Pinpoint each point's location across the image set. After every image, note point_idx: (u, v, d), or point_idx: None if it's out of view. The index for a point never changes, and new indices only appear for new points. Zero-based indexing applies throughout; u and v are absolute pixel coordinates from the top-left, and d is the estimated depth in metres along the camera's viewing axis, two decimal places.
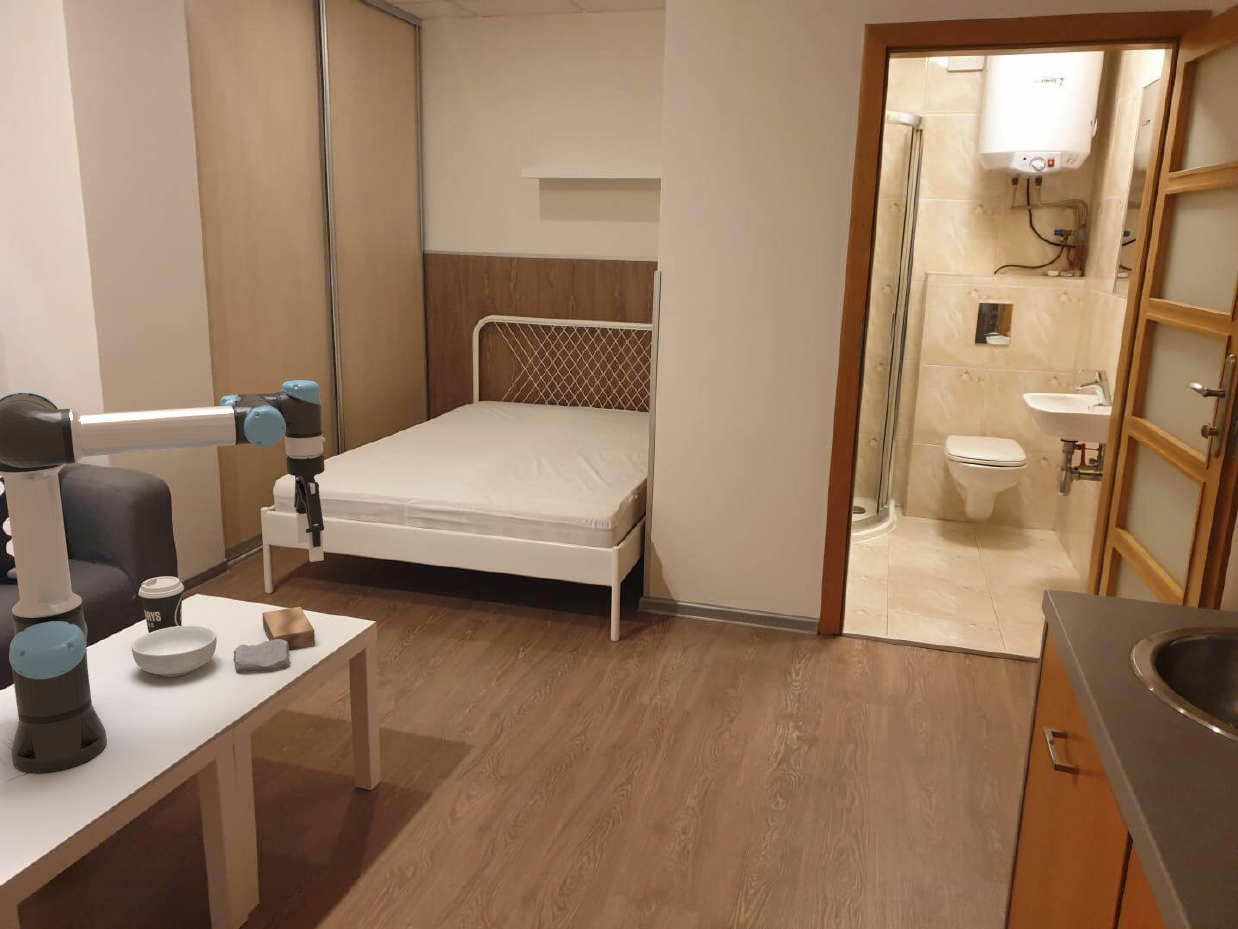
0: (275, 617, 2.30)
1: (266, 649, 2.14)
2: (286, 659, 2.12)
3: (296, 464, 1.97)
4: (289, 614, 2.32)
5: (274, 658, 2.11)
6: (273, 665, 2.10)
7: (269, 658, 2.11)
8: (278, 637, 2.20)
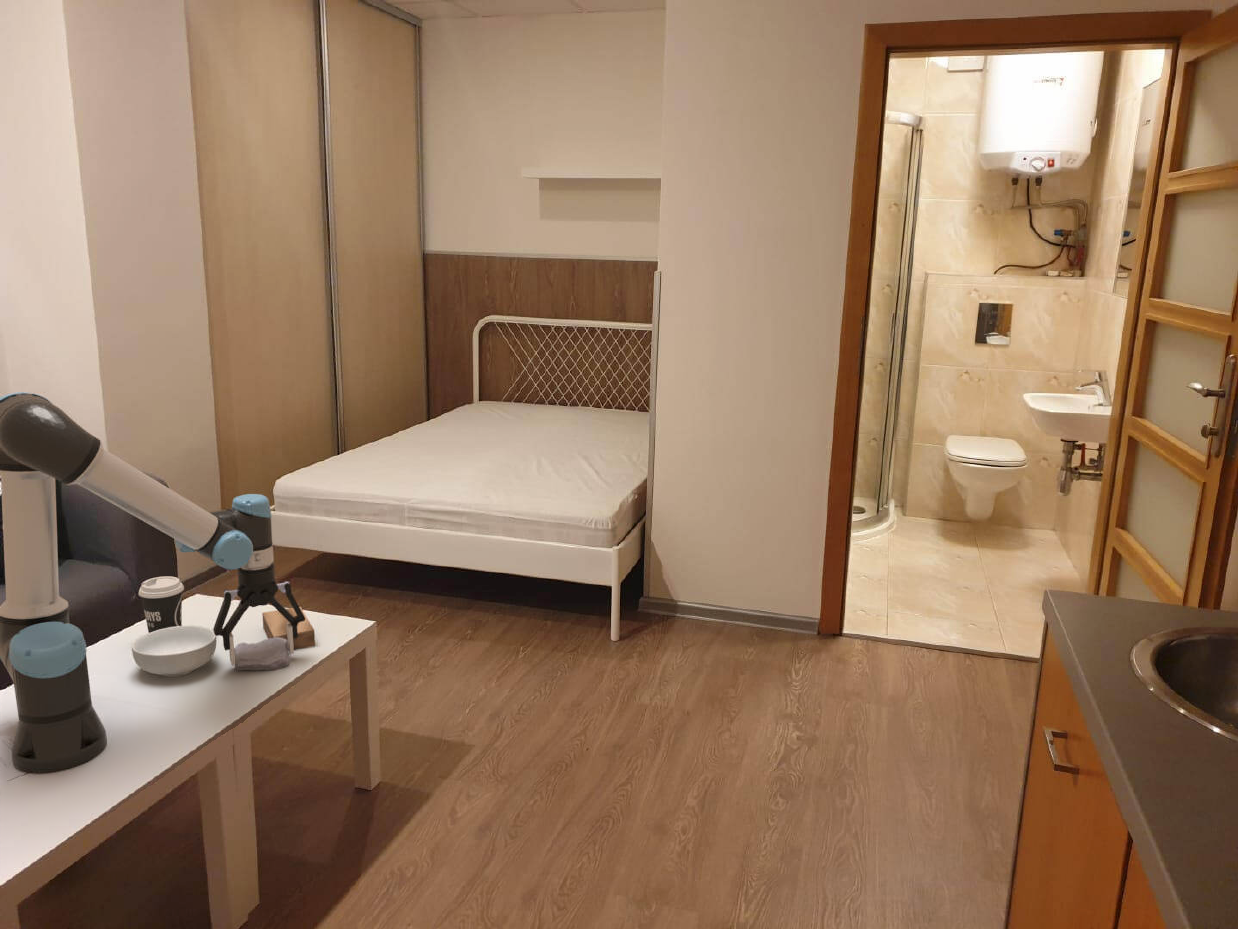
0: (275, 617, 2.30)
1: (266, 648, 2.14)
2: (285, 657, 2.13)
3: None
4: None
5: (273, 656, 2.12)
6: (272, 663, 2.11)
7: (268, 656, 2.12)
8: None
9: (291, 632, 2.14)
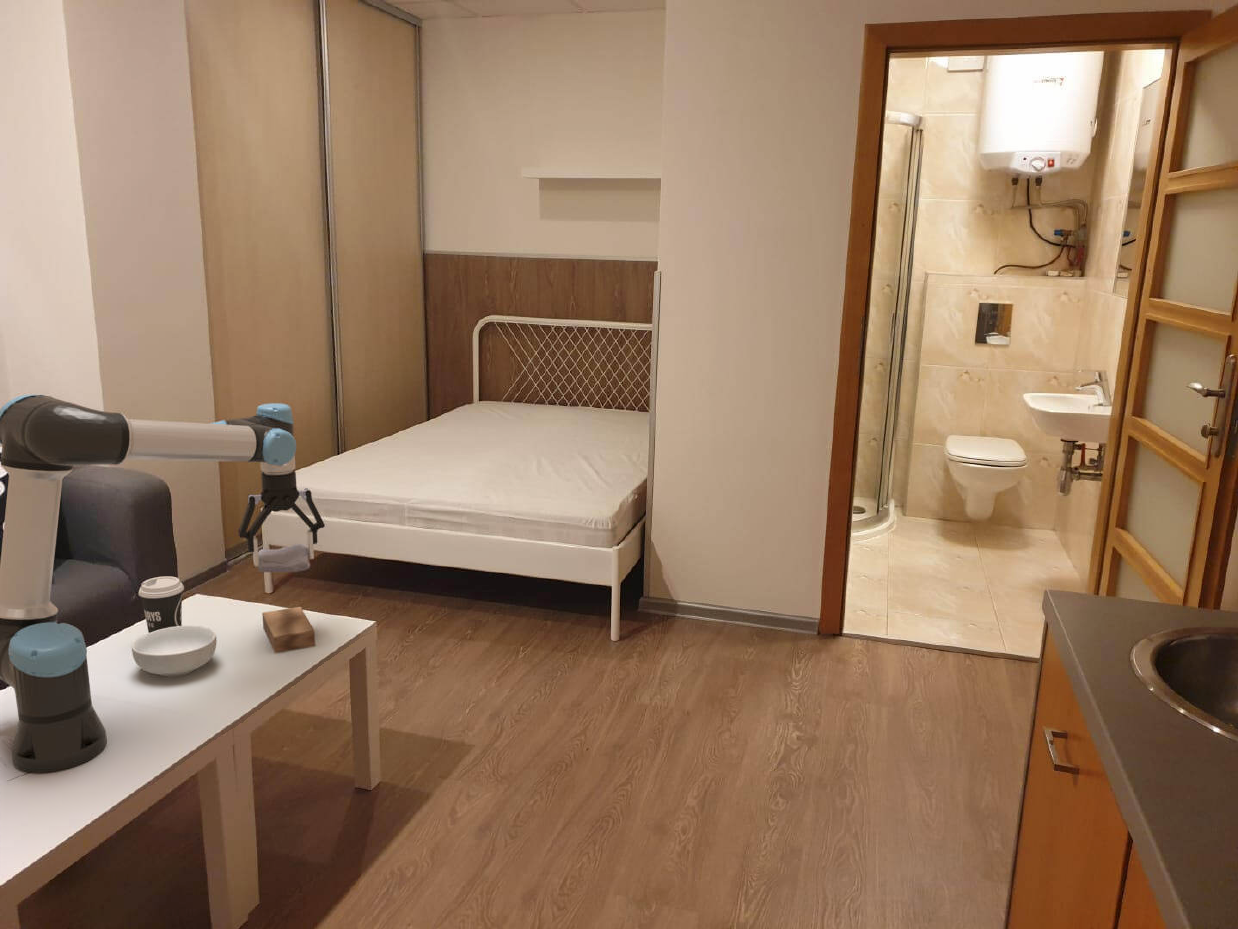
0: (275, 617, 2.30)
1: (287, 552, 2.25)
2: (306, 560, 2.23)
3: None
4: (289, 614, 2.32)
5: (295, 559, 2.22)
6: (294, 565, 2.22)
7: (290, 559, 2.22)
8: (278, 637, 2.20)
9: (311, 537, 2.25)
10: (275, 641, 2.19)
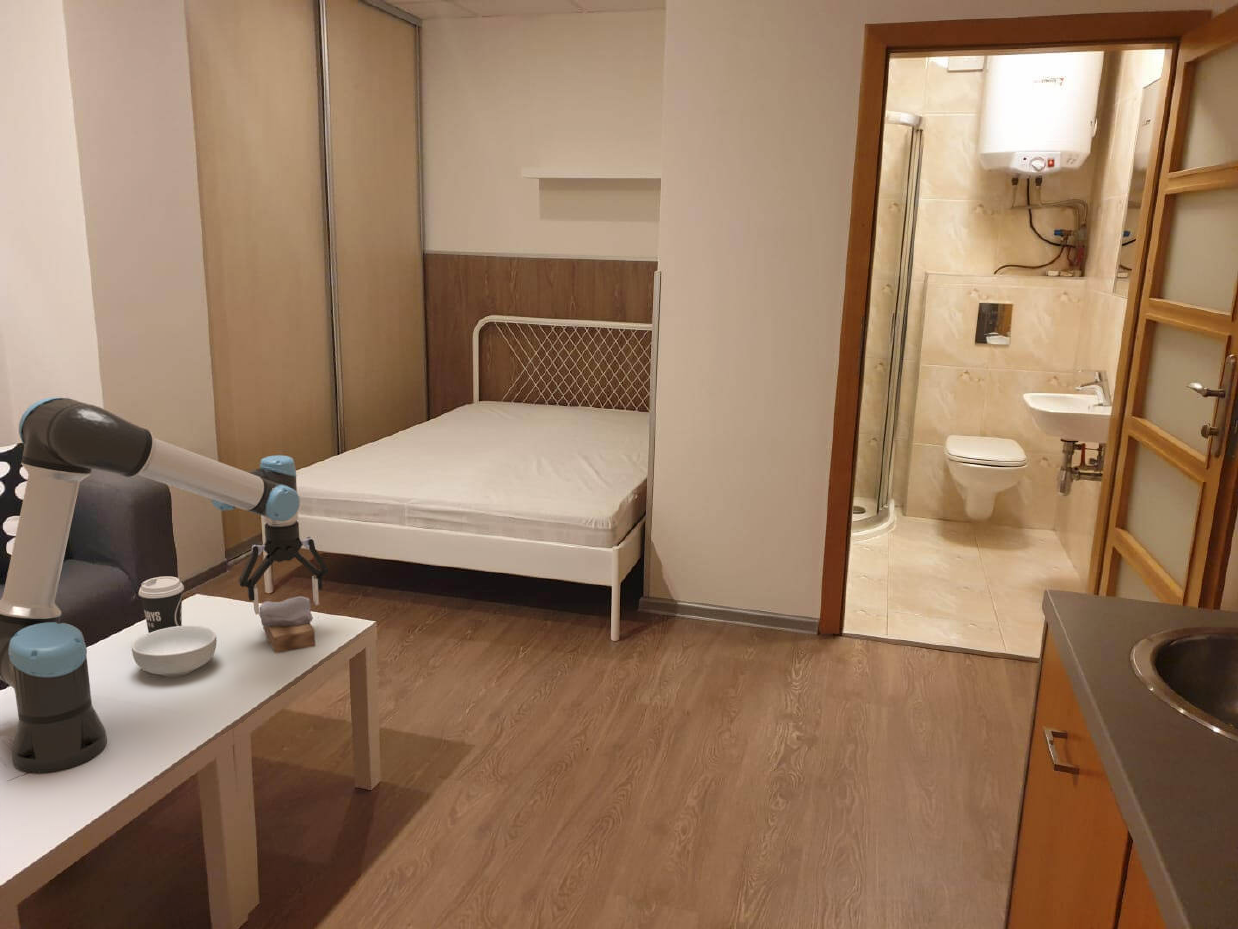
0: None
1: (290, 605, 2.28)
2: (309, 614, 2.27)
3: None
4: None
5: (297, 613, 2.26)
6: (297, 619, 2.25)
7: (293, 613, 2.26)
8: (278, 637, 2.20)
9: (316, 584, 2.28)
10: (275, 641, 2.19)
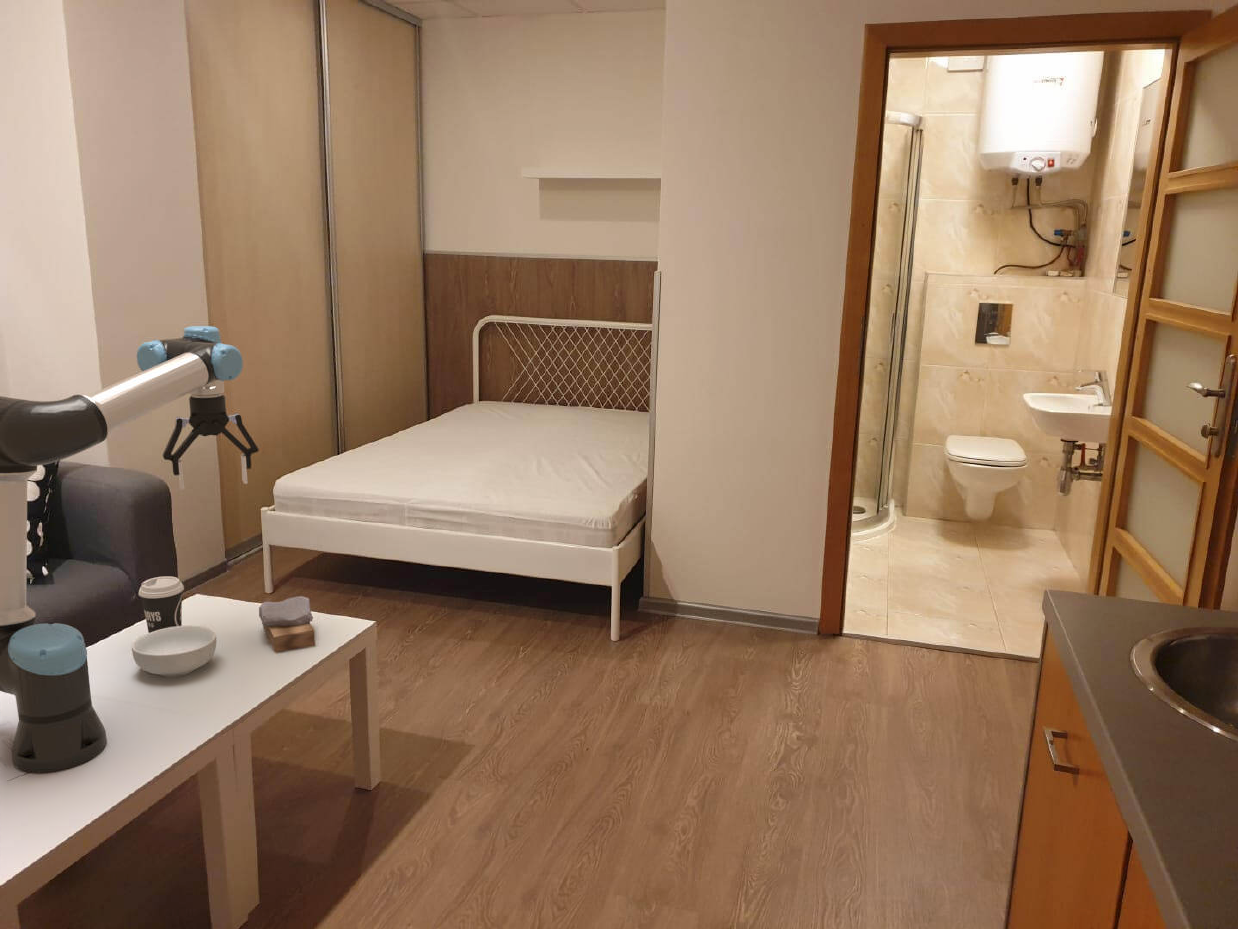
0: None
1: (290, 605, 2.28)
2: (309, 613, 2.27)
3: None
4: None
5: (298, 613, 2.26)
6: (297, 619, 2.25)
7: (294, 613, 2.26)
8: (278, 637, 2.20)
9: (245, 462, 2.23)
10: (275, 641, 2.19)
